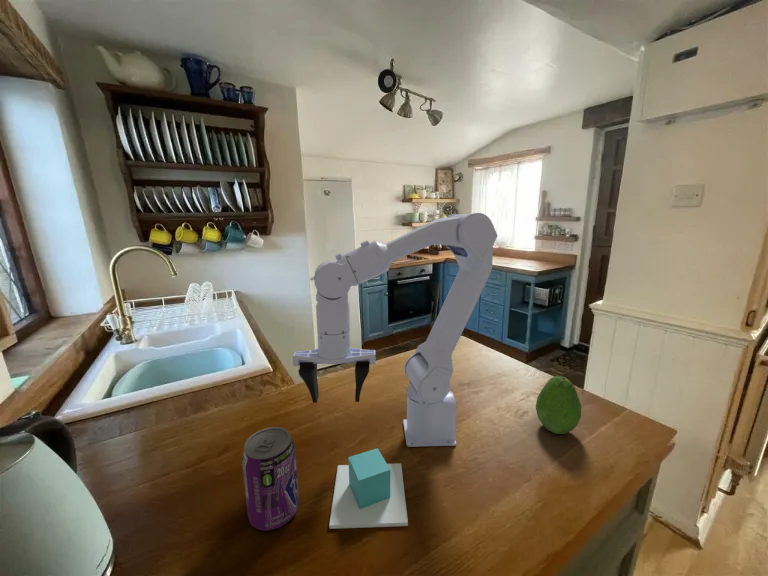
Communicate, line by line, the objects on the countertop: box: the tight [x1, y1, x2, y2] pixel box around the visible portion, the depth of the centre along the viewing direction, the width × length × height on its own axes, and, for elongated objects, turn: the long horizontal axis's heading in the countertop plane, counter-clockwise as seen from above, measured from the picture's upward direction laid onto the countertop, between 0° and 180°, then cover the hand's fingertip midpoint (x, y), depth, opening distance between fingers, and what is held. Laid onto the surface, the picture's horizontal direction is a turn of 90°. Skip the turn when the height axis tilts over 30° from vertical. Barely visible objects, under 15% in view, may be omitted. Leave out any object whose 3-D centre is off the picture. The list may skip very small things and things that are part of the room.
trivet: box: [328, 463, 409, 530], centre depth 49 cm, size 11×11×1 cm
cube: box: [347, 448, 390, 509], centre depth 49 cm, size 5×5×5 cm
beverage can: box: [241, 426, 300, 531], centre depth 45 cm, size 7×7×12 cm
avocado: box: [535, 375, 582, 435], centre depth 63 cm, size 8×8×12 cm
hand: (336, 399), depth 58 cm, fingers open, 7 cm apart
